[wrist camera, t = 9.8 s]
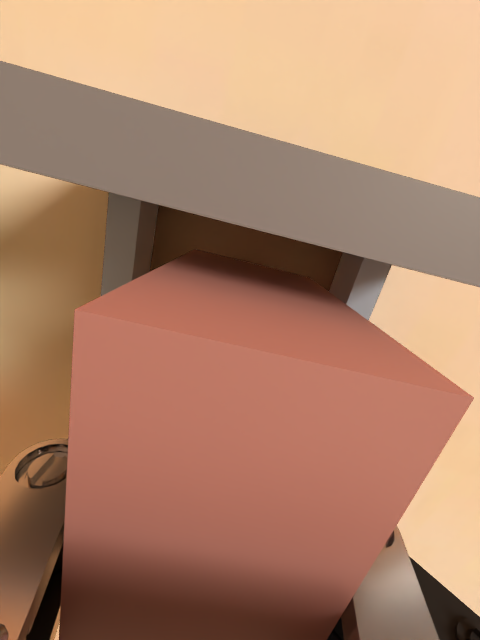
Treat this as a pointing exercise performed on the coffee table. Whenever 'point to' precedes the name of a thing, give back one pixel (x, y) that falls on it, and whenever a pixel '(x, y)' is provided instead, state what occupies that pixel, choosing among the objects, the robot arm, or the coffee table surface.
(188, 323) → the reddish pink rectangular block
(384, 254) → the shelf slot
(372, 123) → the coffee table surface
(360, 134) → the coffee table surface
